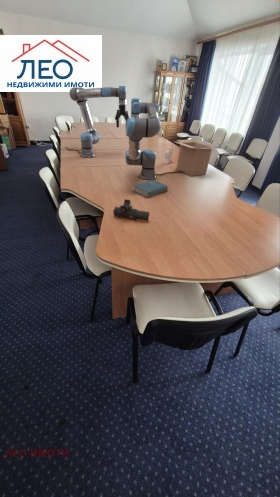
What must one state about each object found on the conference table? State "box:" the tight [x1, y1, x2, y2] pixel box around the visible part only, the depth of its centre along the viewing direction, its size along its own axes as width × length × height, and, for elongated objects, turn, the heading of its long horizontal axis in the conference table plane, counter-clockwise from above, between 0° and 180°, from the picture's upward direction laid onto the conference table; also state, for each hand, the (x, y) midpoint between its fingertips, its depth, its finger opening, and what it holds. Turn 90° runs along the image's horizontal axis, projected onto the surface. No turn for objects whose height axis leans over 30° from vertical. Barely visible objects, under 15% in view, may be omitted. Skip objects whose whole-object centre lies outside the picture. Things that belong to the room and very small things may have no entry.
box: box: [174, 139, 220, 177], centre depth 220 cm, size 44×36×27 cm
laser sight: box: [112, 199, 150, 222], centre depth 138 cm, size 10×22×10 cm, turn 78°
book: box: [133, 179, 169, 198], centre depth 177 cm, size 23×16×5 cm
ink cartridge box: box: [163, 148, 174, 165], centre depth 246 cm, size 9×5×15 cm, turn 138°
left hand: (122, 128), depth 235 cm, fingers open, 13 cm apart
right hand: (133, 146), depth 205 cm, fingers open, 13 cm apart
